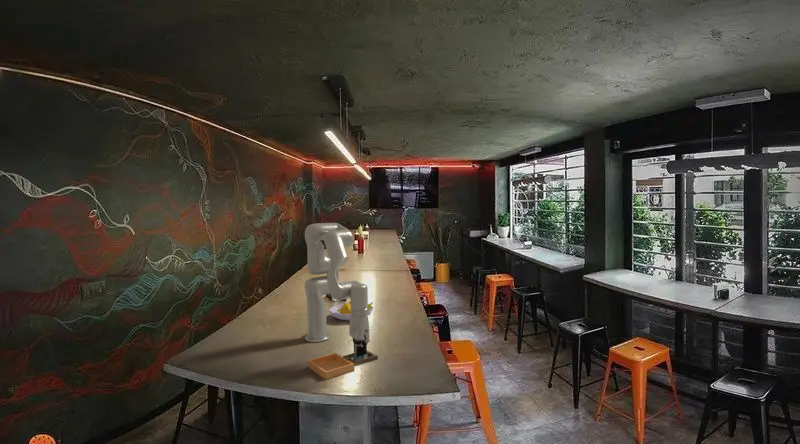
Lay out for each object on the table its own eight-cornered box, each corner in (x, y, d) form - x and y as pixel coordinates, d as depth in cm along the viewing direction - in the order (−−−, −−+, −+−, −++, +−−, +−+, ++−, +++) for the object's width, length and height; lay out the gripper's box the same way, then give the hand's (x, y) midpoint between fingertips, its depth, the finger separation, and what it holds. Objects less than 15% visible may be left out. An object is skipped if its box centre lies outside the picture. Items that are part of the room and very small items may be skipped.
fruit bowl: (321, 318, 238) (320, 299, 238) (357, 309, 256) (357, 292, 256) (346, 328, 217) (346, 307, 217) (384, 318, 235) (384, 299, 235)
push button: (366, 355, 176) (366, 334, 175) (369, 360, 171) (369, 338, 170) (351, 357, 174) (351, 335, 173) (354, 362, 168) (354, 339, 168)
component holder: (342, 359, 172) (342, 356, 172) (365, 352, 180) (365, 349, 180) (354, 366, 165) (354, 362, 164) (377, 359, 172) (377, 355, 172)
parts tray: (308, 367, 164) (307, 360, 164) (335, 359, 172) (335, 352, 172) (325, 380, 152) (325, 372, 152) (354, 371, 160) (354, 363, 160)
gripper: (342, 310, 176) (343, 350, 176) (362, 317, 162) (363, 361, 163) (356, 307, 180) (357, 346, 181) (377, 314, 167) (378, 356, 168)
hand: (360, 352), depth 172 cm, fingers closed on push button, 4 cm apart
